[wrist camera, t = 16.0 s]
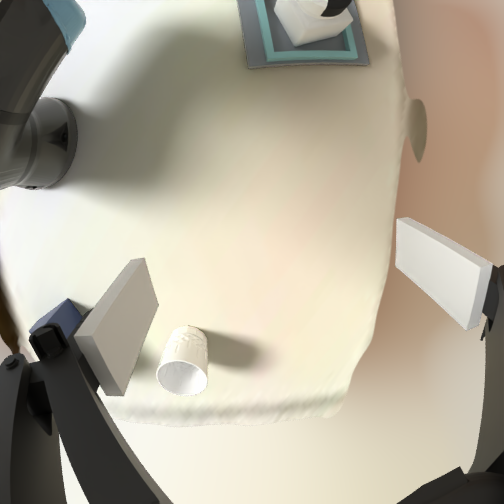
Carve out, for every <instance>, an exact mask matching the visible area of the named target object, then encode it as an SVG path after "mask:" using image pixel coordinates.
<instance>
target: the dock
mask: <svg viewBox="0 0 504 504" xmlns="http://www.w3.org/2000/svg"><path fill="white" fill-rule="evenodd" d="M276 2H277V0H237V5H238V11H239V16H240V22H241V28H242V33H243V39H244V45H245V51H246V57H247V63H248V69H254V68H264V67H276V66H291V65H324V64H332V65H364V66H367V65H369V64H370V63H369V58H368V54H367V49H366V45H365V40H364V36H363V32H362V28H361V24H360V20H359V16H358V13H357V9H356V6H355V2H354V0H352V2H351V3H350V5H349V6H348V7H347V9H348V11H349V13H350V14H351V16H352V18H353V21H352V22H351V23H350V24H349V25H348V26H347V27H346V28H345V29H344V30H343V31H341V32H340V33H339V34H338V35H337V36H336V37H331V38H327V39H323V40H319V41H315V42H312V43H308V44H304V45H301V46H297V47H295V46H294V45H293V43H292V42H291V40H290V38H289V36H288V34H287V33H286V31H285V29H284V27H283V25H282V24H281V22H280V20H279V19H278V17H277V15H276V13H275V12H274V8H275V5H276Z"/></svg>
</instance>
